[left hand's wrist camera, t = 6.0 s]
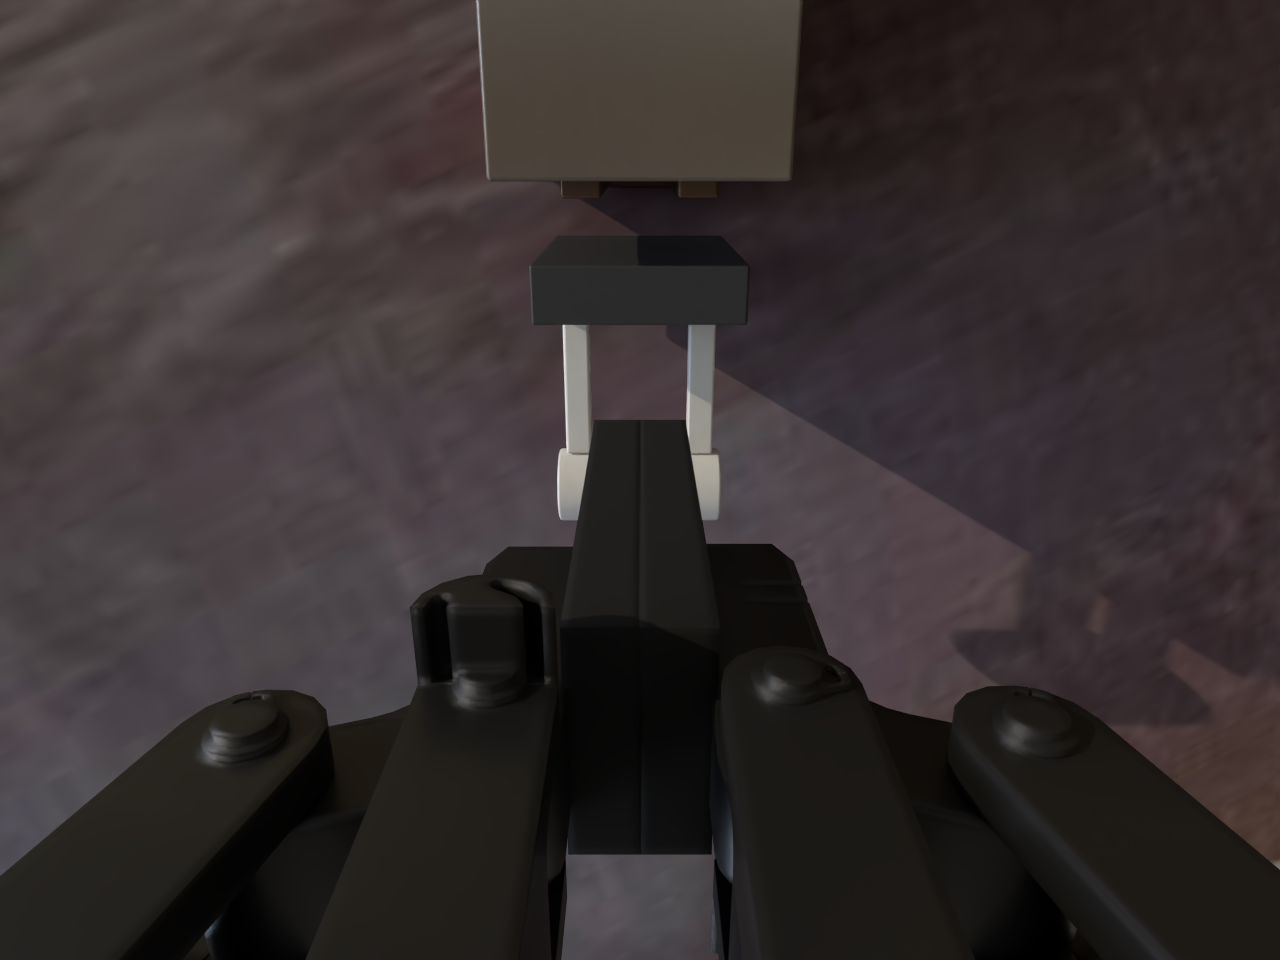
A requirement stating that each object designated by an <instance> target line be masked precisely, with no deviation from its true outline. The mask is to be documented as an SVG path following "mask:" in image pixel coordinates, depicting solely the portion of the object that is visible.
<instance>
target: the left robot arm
mask: <svg viewBox="0 0 1280 960" xmlns="http://www.w3.org/2000/svg"><path fill="white" fill-rule="evenodd" d="M410 613H411V622H412V632H413V641H414V650H415V659H416V668H417V677H418V686H417V689H416V691H415V694H414V696H413V699H412V701H411V703H410V705H408V706H406V707H403V708H401V709H399V710H396V711H394V712H391V713H387V714H384V715H380V716H376V717H373V718H368V719H363V720H358V721H354V722H349V723H344V724H339V725H334V726H328V720H327V714H326V709H325V708H324V707H323V706H322V705H321V704H320V703H319V702H318V701H317V700H316V699H315V698H314V697H311V696H308V695H305V694H302V693H299V692H296V691H293V690H262V691H253V692H252V693H249V692H247V693H243V694H239V695H235V696H233V697H231V698H228V699H226V700H223V701H220V702H218V703H215V704H213V705H210V706H208V707H206V708H204V709H203V710H201V711H199V712H198V713H196V714H195V715H193V716H192V717H190V718H189V719H187V720H186V721H184V722H183V723H181V724H180V725H179V726H178V727H176V728H175V729H174V730H173V731H172V732H171V733H169V734H168V735H167V736H166V737H165V738H163V739H162V740H161V741H160V742H159V743H158V744H156V745H155V746H154V747H153V748H152V749H150V750H149V751H148V752H147V753H146V754H144V755H143V756H142V757H141V758H140V759H139V760H137V761H136V762H135V763H134V764H133V765H131V766H130V767H129V768H128V769H127V770H125V771H124V772H123V773H122V774H121V775H120V776H118V777H117V778H116V779H115V780H114V781H112V782H111V783H110V784H109V785H108V786H107V787H105V788H104V789H103V790H102V791H101V792H99V793H98V794H97V795H96V796H95V797H93V798H92V799H91V800H90V801H89V802H88V803H86V804H85V805H84V806H83V807H82V808H80V809H79V810H78V811H77V812H76V813H75V814H73V815H72V816H71V817H70V818H69V819H67V820H66V821H65V822H64V823H63V824H61V825H60V826H59V827H58V828H57V829H56V830H54V831H53V832H52V833H51V834H50V835H48V836H47V837H46V838H45V839H44V840H42V841H41V842H40V843H39V844H38V845H37V846H35V847H34V848H33V849H32V850H31V851H29V852H28V853H27V854H26V855H25V856H24V857H22V858H21V859H20V860H19V861H18V862H16V863H15V864H14V865H13V866H12V867H10V868H9V869H8V870H7V871H6V872H5V873H3V874H2V875H1V876H0V960H561V956H562V945H563V934H564V924H565V913H566V903H567V882H566V858H565V857H566V848H567V838H568V854H712V834H713V843H714V853H715V858H714V882H713V907H712V932H711V953H718V955H719V960H1280V870H1279V869H1278V868H1277V867H1276V866H1275V865H1273V864H1272V863H1271V862H1270V861H1269V860H1267V859H1266V858H1265V857H1264V856H1263V855H1261V854H1260V853H1259V852H1258V851H1257V850H1255V849H1254V848H1253V847H1252V846H1251V845H1249V844H1248V843H1247V842H1246V841H1245V840H1243V839H1242V838H1241V837H1240V836H1239V835H1237V834H1236V833H1235V832H1234V831H1233V830H1231V829H1230V828H1229V827H1228V826H1227V825H1226V824H1224V823H1223V822H1222V821H1221V820H1220V819H1218V818H1217V817H1216V816H1215V815H1214V814H1212V813H1211V812H1210V811H1209V810H1208V809H1206V808H1205V807H1204V806H1203V805H1202V804H1200V803H1199V802H1198V801H1197V800H1196V799H1194V798H1193V797H1192V796H1191V795H1190V794H1188V793H1187V792H1186V791H1185V790H1184V789H1182V788H1181V787H1180V786H1179V785H1178V784H1176V783H1175V782H1174V781H1173V780H1172V779H1170V778H1169V777H1168V776H1167V775H1166V774H1165V773H1163V772H1162V771H1161V770H1160V769H1159V768H1157V767H1156V766H1155V765H1154V764H1153V763H1151V762H1150V761H1149V760H1148V759H1147V758H1145V757H1144V756H1143V755H1142V754H1141V753H1139V752H1138V751H1137V750H1136V749H1135V748H1133V747H1132V746H1131V745H1130V744H1129V743H1127V742H1126V741H1125V740H1124V739H1123V738H1121V737H1120V736H1119V735H1118V734H1117V733H1115V732H1114V731H1113V730H1112V729H1111V728H1109V727H1108V726H1107V725H1106V724H1105V723H1104V722H1102V721H1101V720H1100V719H1099V718H1097V717H1096V716H1094V715H1092V714H1091V713H1089V712H1088V711H1086V710H1085V709H1083V708H1082V707H1080V706H1078V705H1077V704H1075V703H1074V702H1071V701H1068V700H1066V699H1063V698H1061V697H1058V696H1055V695H1053V694H1050V693H1048V692H1046V691H1042V690H1038V689H1034V688H1031V689H1029V688H1028V687H1020V686H987V687H984V688H981V689H978V690H975V691H972V692H969V693H966V695H965V696H964V697H963V698H962V699H961V700H960V701H959V702H958V703H957V704H956V705H955V707H954V714H953V720H952V723H950V722H945V721H940V720H935V719H931V718H926V717H921V716H916V715H911V714H907V713H903V712H899V711H896V710H892V709H888V708H886V707H883V706H881V705H879V704H876V703H874V702H872V701H869V700H868V697H867V695H866V692H865V690H864V688H863V685H862V683H861V682H860V680H859V679H858V678H857V676H856V675H855V674H854V672H853V671H852V670H851V668H849V667H848V666H846V665H845V664H843V663H841V662H840V661H838V660H837V659H835V658H833V657H832V656H830V655H828V652H827V649H826V647H825V644H824V641H823V639H822V636H821V633H820V631H819V628H818V625H817V623H816V620H815V617H814V615H813V612H812V609H811V607H810V604H809V603H808V601H807V596H806V593H805V590H804V588H803V586H801V580H800V577H799V574H798V572H797V569H796V566H795V564H794V561H793V560H791V559H790V558H789V557H788V556H786V555H785V554H784V553H782V552H781V551H780V550H779V549H777V548H776V547H775V546H774V545H772V544H706V539H705V533H704V528H703V522H702V516H701V510H700V504H699V498H698V492H697V486H696V480H695V474H694V468H693V462H692V456H691V450H690V444H689V438H688V432H687V426H686V420H594V426H593V432H592V438H591V444H590V450H589V456H588V462H587V468H586V474H585V480H584V486H583V492H582V498H581V504H580V510H579V516H578V522H577V528H576V533H575V539H574V545H573V547H508V548H506V549H505V550H504V551H503V552H501V553H500V554H499V555H498V556H496V557H495V558H494V559H493V560H491V561H490V562H489V563H487V564H486V567H485V570H484V572H483V575H473V576H466V577H462V578H458V579H455V580H451V581H448V582H444V583H441V584H439V585H437V586H436V587H434V588H432V589H430V590H428V591H426V592H424V593H423V594H421V595H420V597H419V598H418V599H417V600H416V601H415V602H414V603H413V604H412V605H411V607H410Z"/></svg>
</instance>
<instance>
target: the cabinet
mask: <svg viewBox="0 0 1280 960" xmlns="http://www.w3.org/2000/svg"><path fill="white" fill-rule="evenodd" d="M476 11H477V27H478V44H479V60H480V77H481V93H482V110H483V126H484V143H485V159H486V176H487V179H488V180H490V181H790V180H791V179H792V177H793V161H794V144H795V128H796V112H797V95H798V79H799V62H800V46H801V29H802V13H803V0H476Z"/></svg>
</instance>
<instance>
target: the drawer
mask: <svg viewBox="0 0 1280 960" xmlns="http://www.w3.org/2000/svg"><path fill="white" fill-rule="evenodd" d="M607 188H672V190H673V191H674V192H675V193H676V194H677V195H678V197H680V198H716V197H718V194H719V181H560V195H561V197H562V198H600V197H601V196H602V194H603V193H604V192H605V190H606V189H607ZM749 273H750V267H749V265H748V264H747V263H746V262H745V261H744V260H743V259H742V258H741V257H740V256H739V255H738V254H737V253H736V251H735V250H734V249H733V248H732V247H731V246H730V245H729V244H728V243H727V242H726V241H725V240H724V239H723V238H722V237H721V236H557V237H556V238H555V239H554V240H553V241H552V242H551V243H550V244H549V245H548V246H547V248H546V249H545V250H544V251H543V252H542V253H541V254H540V255H539V256H538V257H537V259H536V260H535V261H534V262H533V263H532V264H531V265H530V267H529V274H530V296H531V318H532V324H533V325H563V348H564V379H565V410H566V441H567V448H562V449H561V450H560V453H559V459H558V481H557V487H558V509H559V516H560V519H561V520H578V516H579V510H580V504H581V498H582V492H583V486H584V480H585V474H586V468H587V462H588V456H589V450H590V444H591V438H592V393H591V344H590V325H688V366H687V414H686V426H687V432H688V438H689V444H690V450H691V456H692V462H693V468H694V474H695V480H696V486H697V492H698V498H699V504H700V510H701V516H702V520H717V519H718V517H719V514H720V505H721V464H720V455H719V451H718V449H716V448H712V430H713V399H714V368H715V337H716V325H746V324H747V317H748V295H749Z"/></svg>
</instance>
